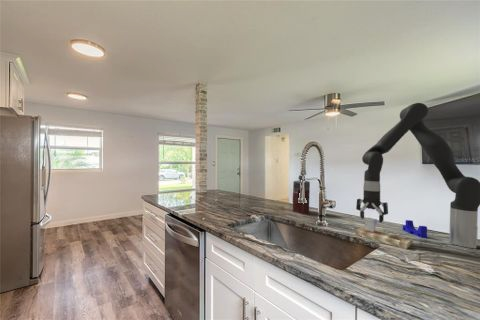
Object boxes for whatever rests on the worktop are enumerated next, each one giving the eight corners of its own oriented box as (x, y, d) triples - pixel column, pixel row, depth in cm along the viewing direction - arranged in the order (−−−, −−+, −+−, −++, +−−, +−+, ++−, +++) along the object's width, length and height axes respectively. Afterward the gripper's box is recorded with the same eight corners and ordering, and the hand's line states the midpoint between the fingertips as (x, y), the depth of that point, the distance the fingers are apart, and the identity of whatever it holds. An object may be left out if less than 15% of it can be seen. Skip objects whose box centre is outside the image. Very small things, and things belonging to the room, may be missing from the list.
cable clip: (402, 230, 124) (402, 219, 124) (410, 230, 123) (411, 220, 123) (417, 237, 112) (417, 226, 112) (426, 238, 111) (427, 226, 111)
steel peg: (376, 236, 111) (376, 219, 111) (373, 238, 109) (373, 220, 109) (367, 234, 114) (368, 217, 114) (364, 235, 112) (365, 218, 112)
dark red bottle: (290, 211, 160) (291, 174, 160) (298, 209, 167) (299, 174, 167) (301, 214, 153) (302, 175, 153) (309, 212, 161) (310, 175, 161)
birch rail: (412, 244, 102) (412, 238, 102) (406, 249, 96) (406, 243, 96) (363, 231, 119) (363, 226, 119) (355, 234, 113) (355, 229, 113)
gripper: (390, 190, 108) (389, 222, 108) (360, 187, 119) (359, 216, 119) (385, 191, 104) (384, 225, 104) (354, 188, 115) (354, 218, 115)
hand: (371, 220), depth 111 cm, fingers open, 8 cm apart
